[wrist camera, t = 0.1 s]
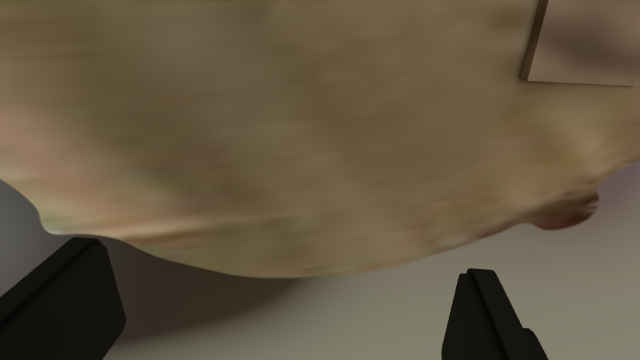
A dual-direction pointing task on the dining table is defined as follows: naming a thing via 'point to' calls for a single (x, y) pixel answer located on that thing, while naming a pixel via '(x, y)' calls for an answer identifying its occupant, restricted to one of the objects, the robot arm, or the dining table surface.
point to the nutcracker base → (585, 42)
